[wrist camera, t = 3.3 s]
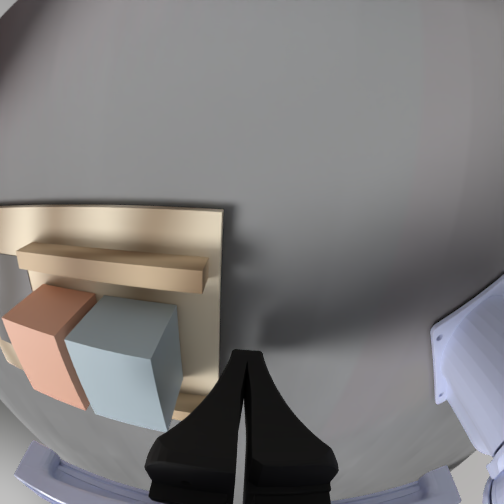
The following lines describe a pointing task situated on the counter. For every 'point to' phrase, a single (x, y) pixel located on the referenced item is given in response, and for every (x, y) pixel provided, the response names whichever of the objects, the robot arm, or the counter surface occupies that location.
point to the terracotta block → (49, 340)
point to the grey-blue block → (129, 360)
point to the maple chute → (123, 270)
